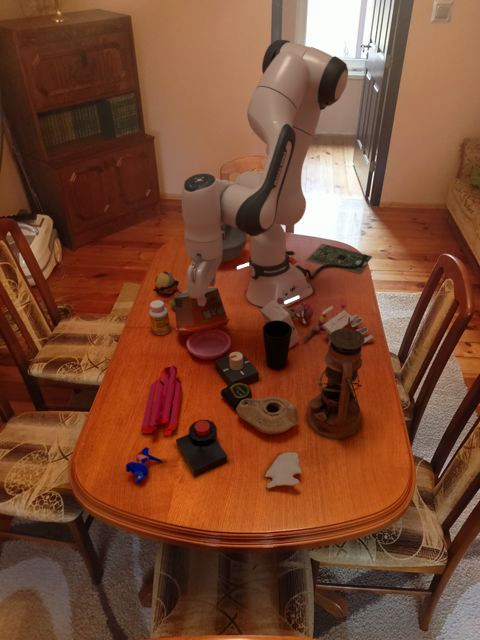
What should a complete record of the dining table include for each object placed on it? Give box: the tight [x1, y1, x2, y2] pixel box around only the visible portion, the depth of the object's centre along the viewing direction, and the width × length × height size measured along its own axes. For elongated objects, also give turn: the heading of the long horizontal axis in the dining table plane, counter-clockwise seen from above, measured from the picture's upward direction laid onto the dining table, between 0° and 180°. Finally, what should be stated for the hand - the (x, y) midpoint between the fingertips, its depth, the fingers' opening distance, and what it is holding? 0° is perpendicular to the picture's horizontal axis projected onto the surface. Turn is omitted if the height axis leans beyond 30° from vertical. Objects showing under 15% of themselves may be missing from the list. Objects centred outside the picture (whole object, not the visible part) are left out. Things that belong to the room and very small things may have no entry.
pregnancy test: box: [321, 305, 354, 335], centre depth 143 cm, size 8×12×1 cm, turn 140°
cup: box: [262, 320, 292, 371], centre depth 131 cm, size 8×8×12 cm
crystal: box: [140, 364, 183, 437], centre depth 121 cm, size 8×6×25 cm
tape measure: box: [220, 382, 253, 412], centre depth 122 cm, size 7×7×4 cm
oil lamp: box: [235, 396, 300, 435], centre depth 115 cm, size 11×15×8 cm
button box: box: [175, 419, 228, 478], centre depth 110 cm, size 9×11×4 cm
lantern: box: [306, 317, 365, 440], centre depth 109 cm, size 17×13×30 cm
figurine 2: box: [277, 298, 321, 343], centre depth 144 cm, size 11×13×15 cm
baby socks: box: [350, 314, 374, 344], centre depth 144 cm, size 12×5×3 cm, turn 16°
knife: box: [286, 250, 295, 255], centre depth 186 cm, size 14×4×1 cm, turn 30°
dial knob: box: [228, 351, 243, 370], centre depth 128 cm, size 4×4×4 cm
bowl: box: [220, 224, 248, 264], centre depth 177 cm, size 20×20×10 cm
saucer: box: [186, 329, 232, 361], centre depth 138 cm, size 12×12×3 cm
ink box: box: [259, 300, 301, 349], centre depth 138 cm, size 9×5×12 cm, turn 33°
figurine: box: [125, 446, 163, 484], centre depth 106 cm, size 5×8×5 cm, turn 158°
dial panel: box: [214, 350, 260, 387], centre depth 130 cm, size 8×10×3 cm
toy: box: [152, 270, 180, 295], centre depth 159 cm, size 8×9×15 cm
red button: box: [195, 419, 210, 437], centre depth 110 cm, size 3×3×2 cm
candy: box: [318, 301, 347, 347], centre depth 144 cm, size 18×8×6 cm, turn 173°
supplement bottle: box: [148, 299, 171, 336], centre depth 143 cm, size 5×5×10 cm
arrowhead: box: [264, 451, 302, 489], centre depth 106 cm, size 8×2×10 cm
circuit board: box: [307, 243, 373, 274], centre depth 180 cm, size 14×20×1 cm
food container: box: [173, 287, 231, 335], centre depth 140 cm, size 16×16×11 cm
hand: (207, 294), depth 125 cm, fingers open, 8 cm apart
